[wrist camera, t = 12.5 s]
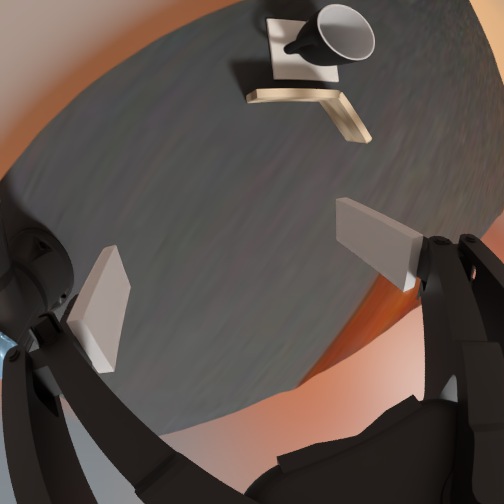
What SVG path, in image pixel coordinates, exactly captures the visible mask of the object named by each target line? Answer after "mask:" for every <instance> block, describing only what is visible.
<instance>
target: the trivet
mask: <svg viewBox="0 0 504 504" xmlns="http://www.w3.org/2000/svg"><path fill="white" fill-rule="evenodd" d="M266 22H267V30H268V37H269V44H270V52H271V60H272V69H273V77H274V80H312V81H328V82H339V80H338V72H337V66H316V65H313V64H311V63H309V62H307V61H305V60H304V59H303V58H302V57H301V56H300V54H291V55H287V54H286V53H285V52H284V50H283V48H284V46H285V45H287V44H288V43H290V42H292V41H295V40H296V37H297V35H298V33H299V31H300V29H301V28H302V27H303V25H304V24H305V23H306V22H304V21H294V20H283V19H267V20H266Z"/></svg>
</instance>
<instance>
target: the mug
mask: <svg viewBox="0 0 504 504" xmlns="http://www.w3.org/2000/svg"><path fill="white" fill-rule="evenodd" d="M374 45H375V39H374V34H373V31H372V29H371V27H370V25H369V24H368V22H367V21H366V20H365V18H364V17H363V16H362V15H360V14H359V13H358V12H357V11H355V10H353V9H352V8H350V7H347V6H344V5H340V4H331V5H328V6H325V7H323V8H322V9H320V10H319V11H318V12H316V13H315V14H314V15H313V16H312V17H311V18H310V19H309V20H308V21H307V22H306V23H305V24H304V25H303V27H302V28H301V29H300V31H299V33H298V35H297V37H296V40H295V41H292V42H290V43H288V44H287V45H285V46H284V48H283V50H284V52H285V53H286V54H287V55H291V54H300V56H301V57H302V58H303V59H304V60H305V61H307V62H309V63H311V64H313V65H316V66H337V65H343V64H348V63H353V62H357V61H361V60H363V59H365V58H367V57H369V56H370V55H371V53H372V52H373V50H374Z"/></svg>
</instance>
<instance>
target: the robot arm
mask: <svg viewBox="0 0 504 504" xmlns="http://www.w3.org/2000/svg"><path fill="white" fill-rule="evenodd" d="M0 202H1V200H0ZM336 240H337V241H339V242H340V243H341V244H343V245H344V246H345V247H347V248H348V249H349V250H351V251H352V252H353V253H355V254H356V255H357V256H359V257H360V258H361V259H363V260H364V261H365V262H366V263H368V264H369V265H370V266H372V267H373V268H374V269H375V270H377V271H378V272H379V273H381V274H382V275H383V276H384V277H386V278H387V279H388V280H389V281H391V282H392V283H393V284H394V285H396V286H397V287H398V288H399V289H400V290H402V291H403V292H404V291H407V290H409V289H411V288H413V287H414V285H415V280H416V276H417V277H419V278H420V279H421V283H420V287H419V291H418V295H417V300H419V297H420V296H421V302H422V312H423V325H424V341H425V393H424V399H423V400H422V401H418V400H417V399H416V397H415V396H414V395H412V396H410V397H408V398H407V399H405V400H403V401H402V402H400V403H399V404H397V405H395V406H393V407H392V408H390V409H388V410H386V411H385V412H384V413H383V414H382V415H381V416H380V417H378V418H377V419H376V420H375V421H374V422H373V423H372V424H371V425H369V426H368V427H367V428H366V429H365V430H364V431H362V432H361V433H360V434H358V435H356V436H353V437H348V438H344V439H338V440H333V441H328V442H322V443H315V444H313V445H310V446H308V447H305V448H302V449H299V450H296V451H293V452H290V453H287V454H284V455H281V456H277V463H278V465H276V466H275V467H273V468H271V469H269V470H268V471H267V472H265V473H264V474H262V475H261V476H260V477H259V478H258V479H256V480H255V481H254V482H253V483H252V485H251V486H250V487H249V488H248V489H247V491H246V492H245V493H244V495H243V494H241V493H240V492H238V491H236V490H234V489H233V488H231V487H229V486H228V485H226V484H224V483H223V482H222V481H219V480H218V479H217V478H215V477H214V476H212V475H211V474H209V473H208V472H206V471H205V470H203V469H202V468H201V467H199V466H198V465H196V464H195V463H193V462H192V461H191V460H189V459H188V458H187V457H185V456H184V455H182V454H181V453H179V452H176V451H175V450H174V449H172V448H171V447H170V446H169V445H168V444H166V443H165V442H164V441H163V440H162V439H160V438H159V437H158V436H157V435H156V434H155V433H154V432H152V431H151V430H150V429H149V428H148V427H147V426H146V425H145V424H144V423H143V422H142V421H140V420H139V419H138V418H137V417H136V416H135V415H134V414H133V413H132V412H131V411H130V410H129V409H128V408H127V407H126V406H125V405H124V404H123V403H122V402H121V401H120V400H119V398H118V397H117V396H116V395H115V394H114V393H113V392H112V391H111V390H110V389H109V388H108V386H107V385H106V384H105V383H104V382H103V381H102V380H101V378H100V377H99V376H98V375H97V374H96V372H95V371H94V370H93V369H92V368H91V367H92V364H93V366H94V367H95V369H96V370H97V371H98V373H105V372H114V371H115V364H116V358H117V351H118V346H119V340H120V334H121V329H122V324H123V319H124V314H125V310H126V305H127V301H128V296H129V292H130V288H131V286H130V284H129V281H128V278H127V276H126V273H125V270H124V267H123V264H122V262H121V259H120V256H119V253H118V250H117V247H116V245H113V246H109V247H105V248H104V249H103V250H102V252H101V254H100V256H99V257H98V259H97V261H96V263H95V265H94V266H93V268H92V270H91V272H90V274H89V276H88V278H87V280H86V282H85V283H84V285H83V287H82V289H81V291H80V293H79V294H77V295H75V296H74V297H73V298H72V299H71V300H70V302H69V304H68V306H67V308H66V310H65V312H64V315H63V316H62V318H61V320H60V322H59V321H58V319H57V317H56V316H55V314H54V313H53V311H55V310H56V309H58V308H59V307H61V306H62V305H63V304H64V303H65V301H66V300H67V298H68V296H69V294H70V293H71V290H72V288H73V282H74V273H73V268H72V264H71V261H70V259H69V256H68V254H67V253H66V251H65V249H64V248H63V246H62V245H61V244H60V243H59V242H58V241H57V240H56V239H55V238H54V237H53V236H52V235H50V234H48V233H47V232H45V231H42V230H39V229H33V228H31V229H25V230H23V231H21V232H19V233H18V234H17V235H16V236H14V237H13V238H12V239H11V240H10V242H9V243H7V239H6V234H5V230H4V225H3V219H2V214H1V207H0V379H2V420H3V432H4V442H5V450H6V457H7V463H8V469H9V474H10V478H11V483H12V487H13V491H14V495H15V498H16V501H17V504H98V503H97V501H96V499H95V497H94V495H93V493H92V490H91V488H90V486H89V484H88V482H87V479H86V477H85V475H84V473H83V470H82V468H81V465H80V463H79V460H78V457H77V455H76V452H75V449H74V446H73V443H72V441H71V437H70V435H69V431H68V428H67V424H66V421H65V417H64V413H63V410H62V406H61V401H60V397H59V395H60V394H63V395H64V397H65V398H66V400H67V402H68V403H69V405H70V406H71V408H72V409H73V411H74V413H75V414H76V416H77V417H78V419H79V420H80V422H81V423H82V425H83V426H84V427H85V429H86V430H87V432H88V433H89V435H90V436H91V437H92V439H93V440H94V441H95V443H96V444H97V445H98V447H99V448H100V449H101V450H102V452H103V453H104V454H105V455H106V456H107V458H108V459H109V460H110V461H111V462H112V464H113V465H114V466H115V467H116V468H117V469H118V470H119V472H120V473H121V474H122V475H123V476H124V477H125V478H126V479H127V480H128V481H129V482H130V483H131V485H132V486H133V487H134V488H135V493H136V495H137V496H138V497H139V498H140V499H141V500H142V501H143V503H145V504H504V264H503V263H502V261H501V260H500V259H499V258H498V257H497V256H496V255H495V254H494V253H493V252H492V251H491V250H490V249H489V248H488V247H487V246H486V245H485V244H484V243H483V242H482V241H481V240H480V239H478V238H477V237H475V236H474V235H472V234H462V235H460V239H459V244H453V243H452V242H451V241H450V240H449V239H447V238H444V237H441V236H432V237H430V238H429V239H428V238H426V237H424V236H423V235H422V234H420V233H418V232H416V231H414V230H413V229H411V228H409V227H407V226H405V225H403V224H401V223H399V222H397V221H395V220H393V219H391V218H389V217H387V216H385V215H383V214H381V213H379V212H377V211H375V210H373V209H371V208H369V207H366V206H364V205H362V204H360V203H358V202H356V201H353V200H351V199H349V198H347V197H345V198H338V199H336ZM474 269H476V276H475V279H473V278H472V277H473V273H474ZM33 341H35V342H36V344H37V345H38V347H39V349H37V350H34V351H32V352H29V350H30V348H31V345H32V343H33ZM28 352H29V353H28Z"/></svg>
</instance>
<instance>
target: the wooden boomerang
mask: <svg viewBox="0 0 504 504" xmlns="http://www.w3.org/2000/svg"><path fill="white" fill-rule="evenodd" d="M246 100H247V103H256V102H277V101H319V102H320V104H321V105H322V106H323V108H324V109H325V110H326V112H327V113H328V115H329V116H330V117H331V119H332V120H333V122H334V123H335V125H336V126H337V127H338V129H339V130H340V132H341V133H342V135H343V136H344V138H345V139H346V141H354V142H362V143H368V142H369V141H370V140H372V138H371V136H370V134H369V133H368V131H367V129H366V128H365V126H364V125H363V123H362V121H361V120H360V118H359V117H358V115H357V113H356V112H355V110H354V109H353V107H352V106H351V104H350V103H349V101H348V100H347V98H346V97H345V96H344V94H343V93H342V92H341V93H339V90H326V89H299V88H278V89H256V90H254V91H253V92H251V93H249V94H248V95H246Z"/></svg>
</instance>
